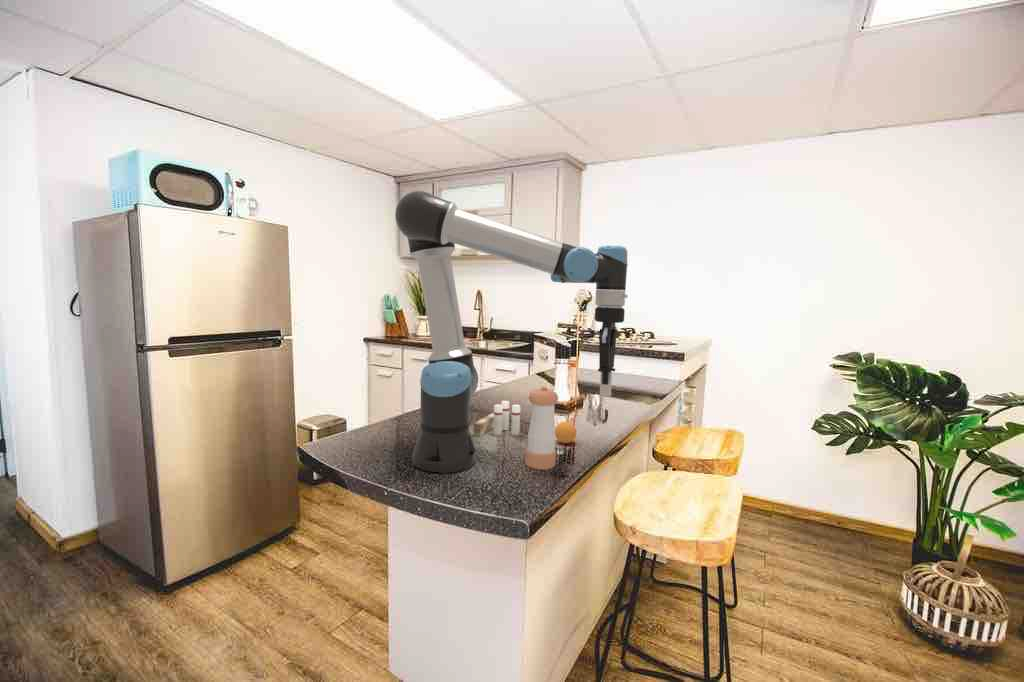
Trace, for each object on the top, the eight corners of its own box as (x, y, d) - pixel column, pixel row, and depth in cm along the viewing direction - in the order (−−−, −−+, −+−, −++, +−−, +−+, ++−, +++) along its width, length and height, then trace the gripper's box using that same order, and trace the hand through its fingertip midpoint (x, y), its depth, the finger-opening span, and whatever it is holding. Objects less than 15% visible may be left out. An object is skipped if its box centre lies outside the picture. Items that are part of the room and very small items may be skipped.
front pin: (513, 436, 128) (515, 407, 127) (509, 433, 130) (510, 405, 129) (521, 434, 129) (522, 406, 128) (516, 432, 131) (517, 404, 130)
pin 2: (503, 431, 132) (504, 403, 131) (498, 428, 134) (499, 401, 133) (510, 429, 133) (511, 402, 132) (505, 427, 135) (506, 400, 134)
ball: (563, 447, 120) (564, 426, 119) (549, 440, 125) (550, 420, 124) (580, 444, 123) (581, 423, 122) (566, 437, 128) (567, 417, 127)
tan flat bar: (479, 436, 126) (479, 424, 126) (473, 435, 127) (473, 423, 126) (499, 423, 139) (500, 412, 138) (494, 422, 140) (494, 411, 139)
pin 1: (495, 435, 127) (496, 407, 126) (491, 433, 129) (492, 404, 128) (503, 434, 128) (504, 406, 127) (498, 432, 131) (499, 403, 130)
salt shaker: (519, 464, 107) (522, 386, 105) (536, 455, 113) (539, 382, 111) (544, 472, 103) (548, 391, 101) (561, 463, 109) (565, 386, 107)
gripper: (620, 308, 108) (615, 402, 111) (628, 306, 120) (623, 392, 123) (590, 306, 111) (585, 399, 114) (600, 305, 123) (596, 389, 126)
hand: (605, 395), depth 118 cm, fingers closed
